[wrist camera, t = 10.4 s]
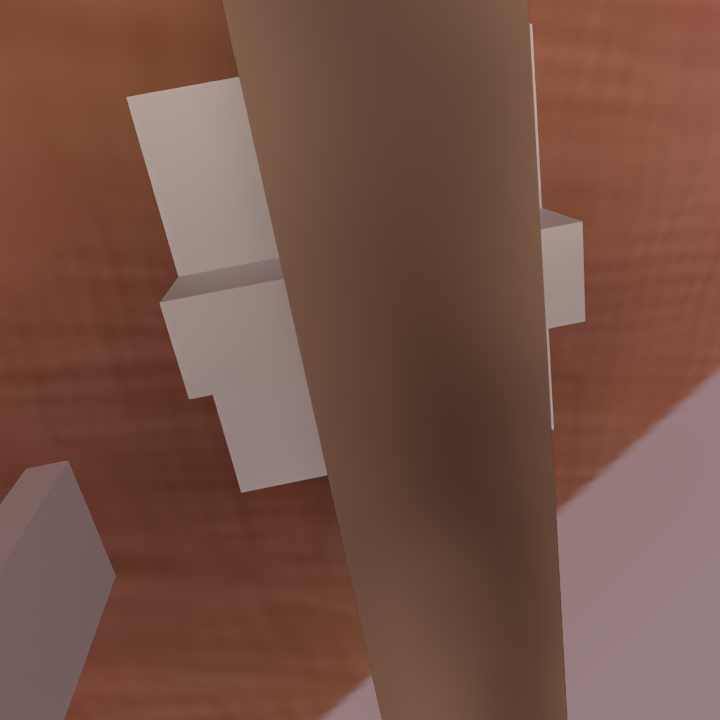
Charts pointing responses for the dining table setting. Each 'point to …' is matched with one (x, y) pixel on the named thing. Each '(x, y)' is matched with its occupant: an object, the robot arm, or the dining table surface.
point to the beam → (420, 330)
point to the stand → (263, 278)
